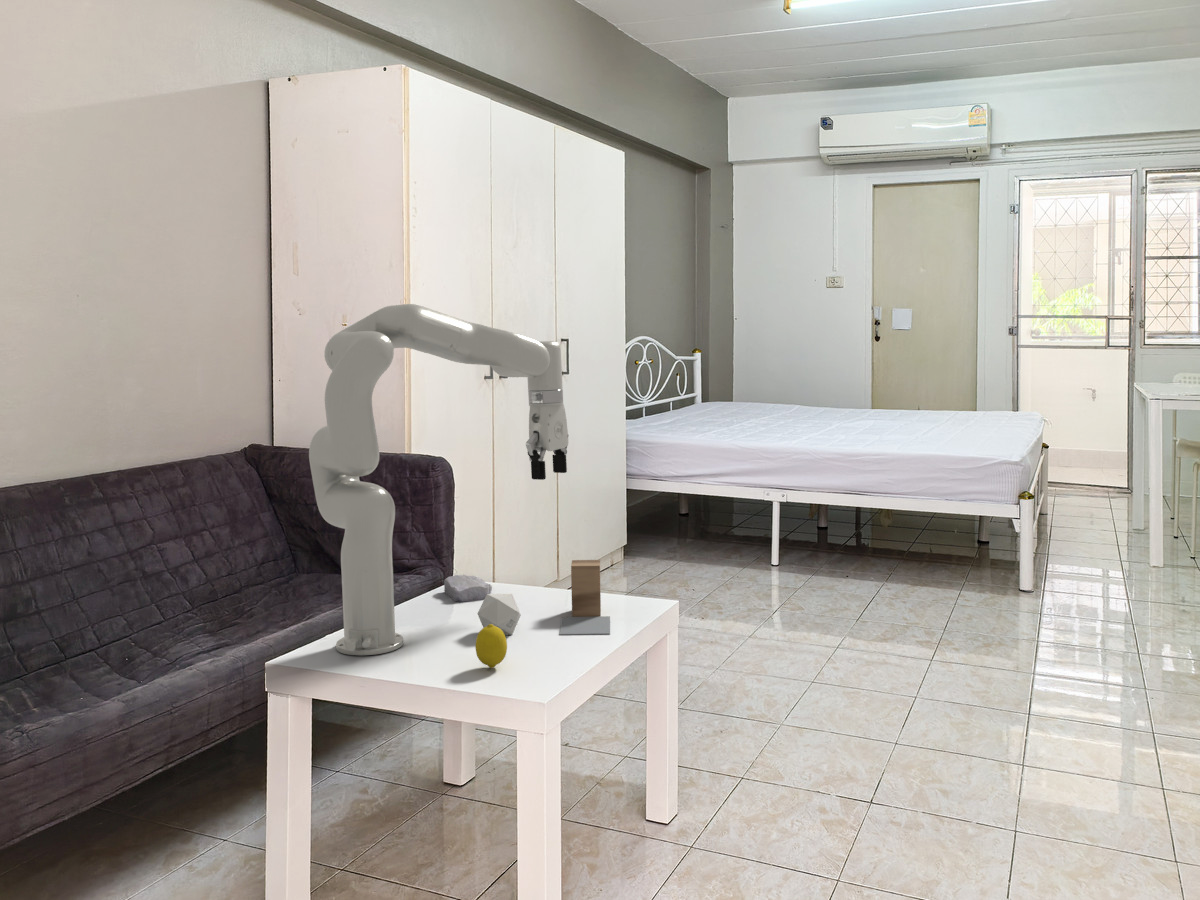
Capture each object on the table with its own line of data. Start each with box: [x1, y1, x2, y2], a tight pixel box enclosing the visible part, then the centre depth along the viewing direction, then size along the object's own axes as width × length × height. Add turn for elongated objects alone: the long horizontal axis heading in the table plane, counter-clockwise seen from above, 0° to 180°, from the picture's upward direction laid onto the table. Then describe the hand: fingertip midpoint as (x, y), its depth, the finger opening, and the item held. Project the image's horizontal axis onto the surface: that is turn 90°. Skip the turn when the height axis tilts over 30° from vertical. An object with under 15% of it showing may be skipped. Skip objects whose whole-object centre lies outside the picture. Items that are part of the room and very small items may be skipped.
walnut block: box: [570, 559, 602, 617], centre depth 207 cm, size 6×6×11 cm
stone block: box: [443, 574, 493, 603], centre depth 226 cm, size 12×5×10 cm
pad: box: [559, 615, 611, 636], centre depth 198 cm, size 13×10×1 cm
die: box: [477, 593, 522, 636], centre depth 194 cm, size 8×9×10 cm
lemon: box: [475, 624, 508, 669], centre depth 172 cm, size 6×6×8 cm
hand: (549, 475), depth 214 cm, fingers open, 9 cm apart
